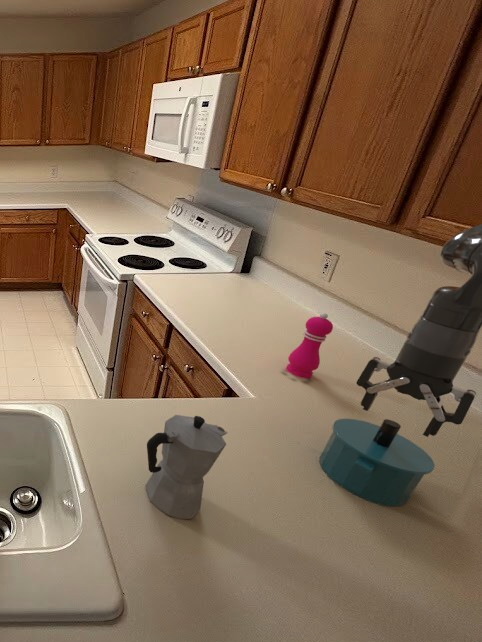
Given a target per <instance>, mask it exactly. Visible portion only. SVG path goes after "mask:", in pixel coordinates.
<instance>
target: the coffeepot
mask: <svg viewBox="0 0 482 642" xmlns="http://www.w3.org/2000/svg"><path fill="white" fill-rule="evenodd" d="M227 434H228V431H226V430H225V429H224V428H223V427H221V426H218V425H217V424H210V423H207V422H206V420H205V418H203V417H202V416H198V415H195V416H187V415H181V414H174V415H173V416H171V417H169V418H168V419H167V420H165V421H164V429H163V432H157V433H155V434H154V435H152V437H150V438H149V439H148V440H147V442H146V452H147V466H148V471H149V472H150V473H151V476H150V477H149V478H148V480H147V482H146V484H145V489H146V495H147V497H148V499H149V501H150V502H151V503H152V505H154V507H155V508H156V509H158V510H159V511H160V512H162V513H163V514H165V515H167V516H169V517H172V518H175V519H179V520H192V518H193V517H195V516H196V515H197V514H198V512H200V510H201V507H202V499H203V490H204V484H205V482H204V481H205V480H204V477H205V476H206V475H207V474H208V473H209V472H210V471H211V469H212V467H213V466H214V464H215V463H216V462H217V460H218V459H219V457H220V455H221V453H222V452H223V450H224V449H225V447H226V446H227V443H226V441H225V439H224V436H225V435H227ZM160 445H162V446H161V455H162V459H161V460H160V461H159V462H158V458H157V454H158V447H159V446H160ZM157 463H158V464H157Z"/></svg>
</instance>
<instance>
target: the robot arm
mask: <svg viewBox="0 0 482 642" xmlns="http://www.w3.org/2000/svg"><path fill="white" fill-rule="evenodd" d="M439 258H440V261H441V263H442V265H444V266H445V267H447V268H448V269H451V270H453V271H456V272H459V273H461V274H464V275H468V276H470V277H469V279H467V281H465V282H464V283H463V284H462V285H461V286H452V285H449V286H448V285H447V286H440V287H438V288H436V289H435V290H434V291H433V293H432V294H431V296H430V298H429V299H428V302H427V303H426V305H425V307H424V309H423V311H422V313H421V315H420V316H419V318H418V319H417V320H416V322H415V323H414V324H413V326H412V328H411V330H410V332H408V334H407V337H406V339H405V341H404V343H403V345H402V347H401V349H400V350H399V353H398V355H397V356H396V358H395V360H394V361H393V363H388V362H386V361H383V360H381V358H380V357H378V356H374V357H372V358H371V359H369V360H368V362H367V364H366V366H365V367H364V369H363V370H362V372H361V373H360V376H359V377H358V379H357V380H356V382H355V383H356V385H357V386H358V387H361V388H362V389H364V390H365V393H364V395H363V397H362V400H361V401H360V406H361V407H362V410H364V411H366V412H368V411H369V410H370V409H371V407H372V406H373V404H374V401H375V400H376V398H377V396H378V394H379V393H380V392H383V391H384V392H385V391H387V390H390V389H395V390H396V392H397V393H399V394H402V395H406V396H407V395H408V396H410V397H411V398H413V399H416V400H418V401H425V402H426V404H427V406H428V408H429V410H431V412H432V415H433V417H432V418H431V420H430V421H429V423H428V425H427V427H426V428H425V430H424V432H423V433H422V436H424V437H426V438H428V437H430V436H433V437H434V436H436V435H437V434H438V433H439V431H440V429H441V427H442V426H443V424H444V423H452V424H454V425H461V424H462V423H463V422H464V419H465V418H466V416H467V414H468V412H469V410H470V408H471V406H472V403H473V402H474V400H475V398H476V396H477V392H476V391H475V390H473V389H463V388H460V387H458V386H454V384H453V383H454V380H455V378H456V376H457V375H458V373H459V371H460V369H461V368H462V366H463V365H464V363H465V361H466V360H467V358H468V356H469V355H470V354H471V352H472V349H473V348H474V347H475V344H476V342H477V340H478V339H477V338H478V337H479V334H480V332H481V330H482V223H481V224H478V225H477V224H476V225H475V226H472V227H470V228H466V229H464V230H462V231H461V232H459V233H458V232H457V234H455V235H454V236H452V237H451V238H449V239H448V240H447V241H446V242H445V243H444V245H442V248H441V249H440V253H439ZM382 370H386V373H387V376H388V378H386V379H384V380H381V381H377V382H375V383H372V382H371V381H370V379H371V377H372V376H373V375H374V373H375V372H377V373H378V372H381V371H382ZM448 394H453V396H454V400H455V401H456V402H458V405H457V408H456V409H455V412H454V413H453V412H447V410H446V407H445V405H444V402H443V399H442V397H441V396H445V395H448Z"/></svg>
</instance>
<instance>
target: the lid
mask: <svg viewBox="0 0 482 642" xmlns="http://www.w3.org/2000/svg"><path fill="white" fill-rule="evenodd" d="M401 426H402V425H401V424H400V423H398V422H396V421H395V420H392V419H388V418H385V419H383V421H382V423H381V425H378V424H374V423H372V422H369V421H364V420H360V419H355V418H340V419H336V420H335V421H334V422H333V424H332V426H331V427H332V433H333V432H334V433H335V435H336V436H337V437H338V438H339V439H340V440H341V441H342V442H343V443H344V444H345V445H347V446H348V447H349V448H351V449H352V450H354V451H355V452H357V453H359V454H360V455H362V456H364V457H366V458H368V459H369V460H372V461H374V462H376V463H378V464H380V465H383V466H385V467H388V468H391V469H394V470H397V471H401V472H405V473H409V474H418V475H423V474H424V475H427V474H431V473H432V472H433V471H434V469H435V462H434V460H433V458H432V457H431V456H430V455H429V454H428V453H427V451H425V450H424V449H423V448H422V447H420V446H418V445H417V444H416V443H414V442H413V441H411V440H410V439H408V438H406V437H404V436H402V435H401V434H399V431H400V429H401ZM424 475H423V476H424Z"/></svg>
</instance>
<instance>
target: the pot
mask: <svg viewBox="0 0 482 642" xmlns="http://www.w3.org/2000/svg"><path fill="white" fill-rule="evenodd" d="M319 465H320V467H321V469H322V470H323V472H324V473H325V474H326V475H327V476H328V477H329V478H330V479H331V480H332V481H333V482H334V483H336V484H337V485H338V486H339V487H341V488H343V489H344V490H346V491H347V492H350V493H351V494H353V495H354V496H357V497H358V498H361V499H363V500H366V501H368V502H370V503H374V504H377V505H381V506H385V507H391V508H393V507H394V508H395V507H401V506H404V505H405V504H407V502H408V501H409V499H410V497H411V496H412V494H413V493H414V491H415V489H416V488H417V486H418V485H419V483H420V482H421V480H422V479H423V478H424V476H425V474H423V475H418V474H409V473H405V472H401V471H397V470H394V469H391V468H388V467H385V466H383V465H380V464H378V463H376V462H374V461H372V460H369V459H368V458H366V457H364V456H362V455H360V454H359V453H357V452H355V451H354V450H352V449H351V448H349V447H348V446H347V445H345V444H344V443H343V442H342V441H341V440H340V439H339V438H338V437H337V436H336V435H335V433H334V432H333V431H332V432H331V434H330V436H329V439H328V440H327V442H326V444H325V446H324V448H323V450H322V451H321V454H320V456H319Z"/></svg>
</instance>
